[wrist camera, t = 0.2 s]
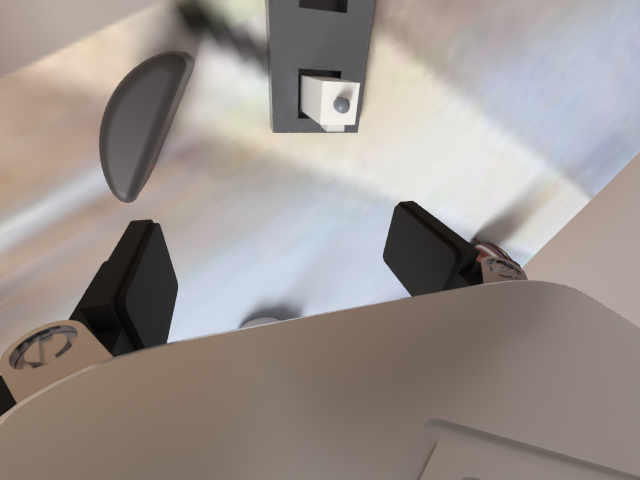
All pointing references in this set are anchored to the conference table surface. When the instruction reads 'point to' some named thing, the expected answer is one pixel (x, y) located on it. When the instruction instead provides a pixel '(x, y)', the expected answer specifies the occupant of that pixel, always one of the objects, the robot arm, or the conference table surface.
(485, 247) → the alarm clock
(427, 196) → the conference table surface
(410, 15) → the conference table surface
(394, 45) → the conference table surface
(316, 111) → the plug
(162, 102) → the leaning round-cornered charcoal block
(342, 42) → the panel
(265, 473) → the robot arm
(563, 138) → the conference table surface
